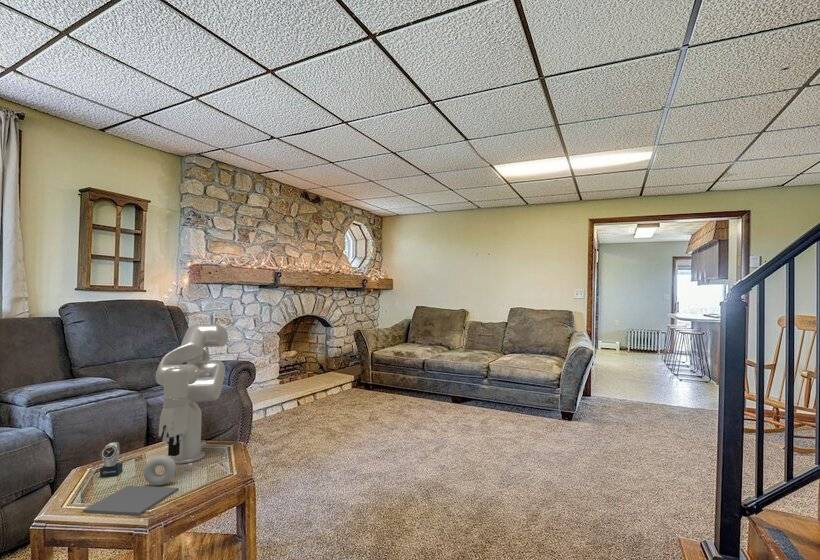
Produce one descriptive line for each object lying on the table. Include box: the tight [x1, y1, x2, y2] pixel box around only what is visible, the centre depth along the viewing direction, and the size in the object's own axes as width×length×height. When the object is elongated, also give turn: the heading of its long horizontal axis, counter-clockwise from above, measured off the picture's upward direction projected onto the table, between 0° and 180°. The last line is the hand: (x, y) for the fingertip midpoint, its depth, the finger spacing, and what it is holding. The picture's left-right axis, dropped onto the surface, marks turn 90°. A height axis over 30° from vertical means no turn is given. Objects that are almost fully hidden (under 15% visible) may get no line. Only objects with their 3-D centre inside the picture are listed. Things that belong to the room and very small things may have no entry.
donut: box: [142, 454, 177, 487], centre depth 142 cm, size 10×4×10 cm, turn 102°
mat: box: [82, 485, 179, 516], centre depth 130 cm, size 17×18×1 cm
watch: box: [99, 441, 124, 478], centre depth 152 cm, size 6×8×11 cm
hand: (173, 455), depth 149 cm, fingers closed
